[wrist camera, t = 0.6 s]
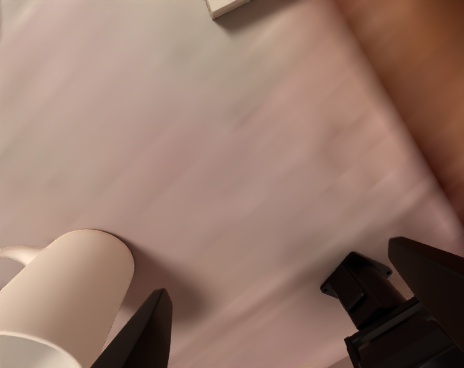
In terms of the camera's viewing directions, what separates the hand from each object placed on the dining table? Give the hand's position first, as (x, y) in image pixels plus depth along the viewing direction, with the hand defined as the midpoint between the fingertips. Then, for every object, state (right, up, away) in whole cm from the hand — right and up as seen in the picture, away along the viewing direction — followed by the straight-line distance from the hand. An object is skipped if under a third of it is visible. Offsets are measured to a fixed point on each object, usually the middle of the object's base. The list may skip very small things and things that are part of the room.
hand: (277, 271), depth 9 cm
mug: (-18, -4, +15) cm, 23 cm away
